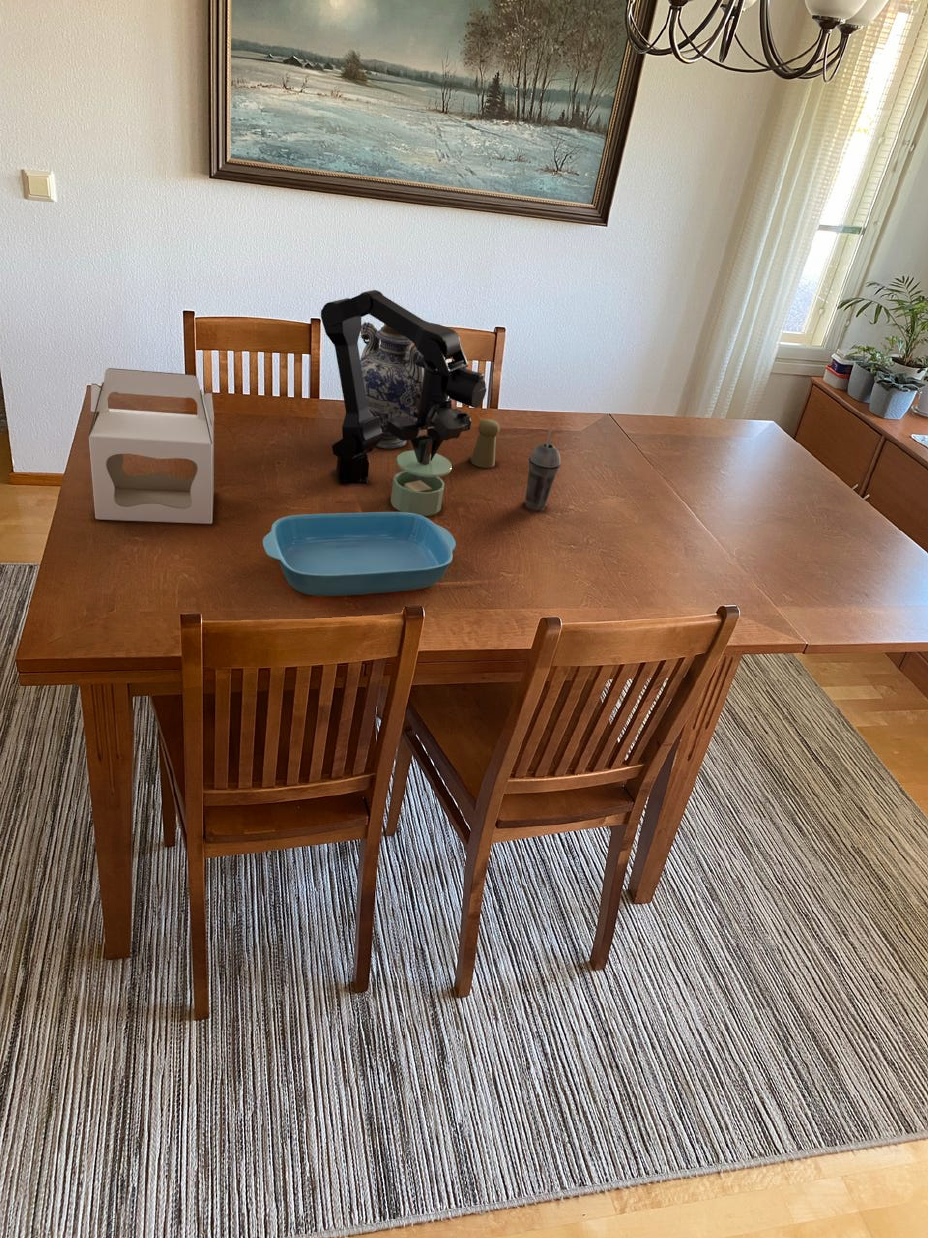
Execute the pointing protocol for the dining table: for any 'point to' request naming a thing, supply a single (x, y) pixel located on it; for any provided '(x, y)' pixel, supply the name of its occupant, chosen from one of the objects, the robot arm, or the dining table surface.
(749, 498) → the dining table surface
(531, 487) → the beverage cup
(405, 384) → the decorative vase
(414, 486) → the block
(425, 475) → the lid
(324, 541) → the casserole dish
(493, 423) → the pepper mill
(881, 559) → the dining table surface
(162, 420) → the gable box
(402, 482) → the pot
